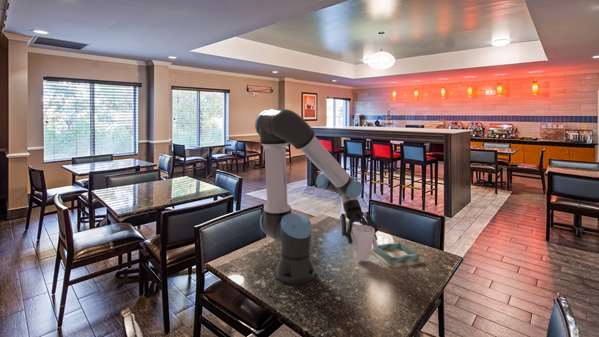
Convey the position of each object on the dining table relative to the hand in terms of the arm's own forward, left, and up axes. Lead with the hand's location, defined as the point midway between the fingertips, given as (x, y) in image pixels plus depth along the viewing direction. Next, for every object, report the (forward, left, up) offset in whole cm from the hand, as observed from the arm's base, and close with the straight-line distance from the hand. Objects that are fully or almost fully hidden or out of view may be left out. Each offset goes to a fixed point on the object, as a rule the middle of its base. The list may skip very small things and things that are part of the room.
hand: (365, 249), depth 139 cm
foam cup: (0, +3, -5) cm, 6 cm away
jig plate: (+17, +3, -7) cm, 18 cm away
